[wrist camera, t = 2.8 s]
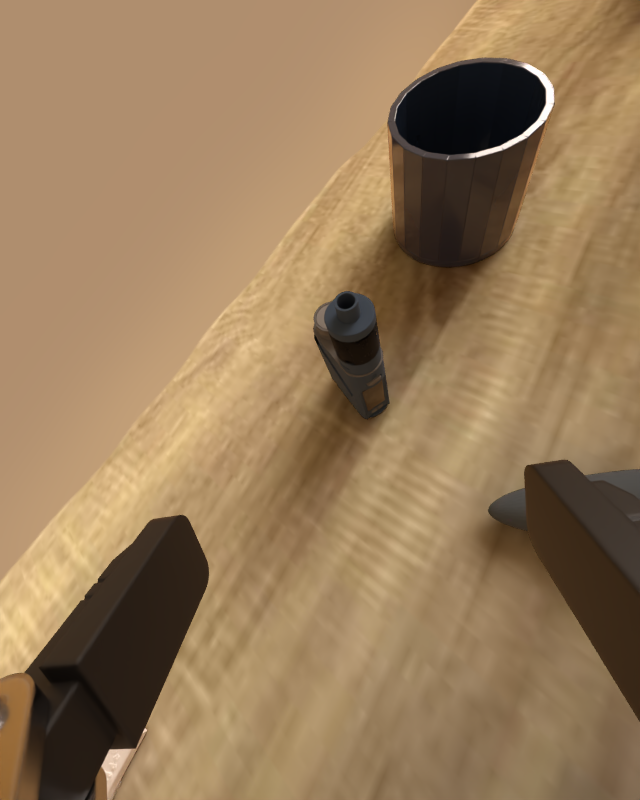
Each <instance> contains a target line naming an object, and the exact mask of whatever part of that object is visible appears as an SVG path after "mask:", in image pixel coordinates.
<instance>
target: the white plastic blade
mask: <svg viewBox="0 0 640 800" xmlns="http://www.w3.org/2000/svg"><path fill="white" fill-rule="evenodd" d="M146 732H147V729H146V728H145V729H144V731H143V733H142V736H141V738H140V740H139V742H138V745H137V747H136V749H111V750H109V752H108V754H107V756H106V758H105V760H104V762H103V764H102V766H101V767H102V768H103V769H104V771H105V774H106V779H107V800H110V799H111V798H112V796H113V794H114V792H115V790H116V788H117V786H118V784H119V782H121V781H120V780H121V778H122V776H123V774H124V773H125V771H126V769H127V767H128V765H129V763H130V762H131V760H132V758H133V756H134V754H135V752H136V750H137V749H138V747H139V745H140V743H141V741H142V739H143V738H144V736H145V734H146ZM120 784H121V783H120ZM119 786H120V785H119ZM119 786H118V788H119ZM118 788H117V789H118ZM116 791H117V790H116ZM115 793H116V792H115ZM114 795H115V794H114ZM113 797H114V796H113ZM112 799H113V798H112ZM112 799H111V800H112Z"/></svg>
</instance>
